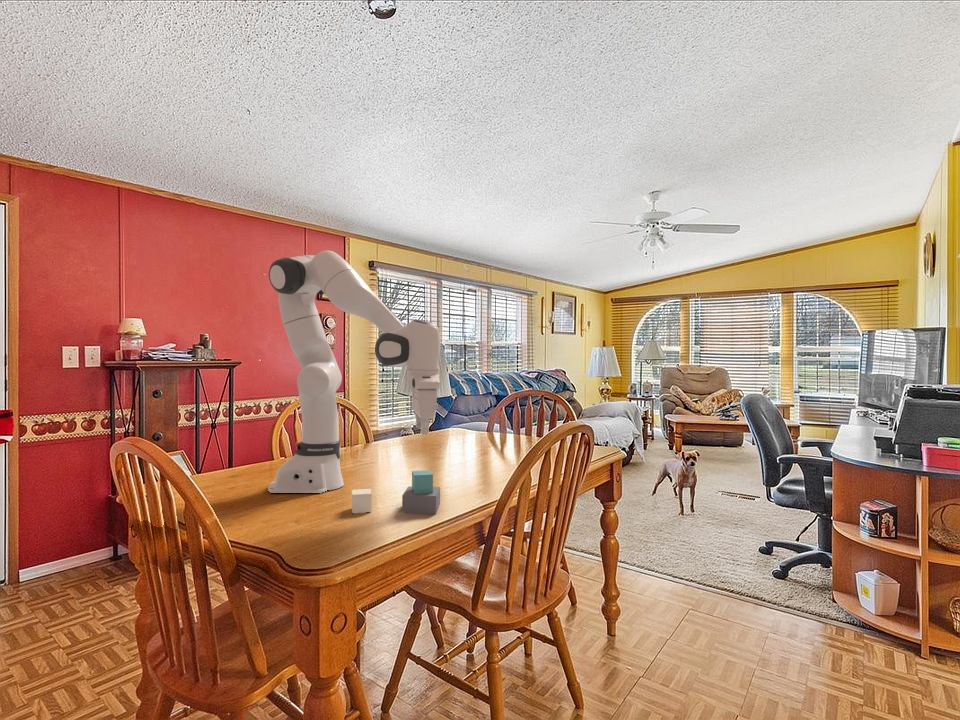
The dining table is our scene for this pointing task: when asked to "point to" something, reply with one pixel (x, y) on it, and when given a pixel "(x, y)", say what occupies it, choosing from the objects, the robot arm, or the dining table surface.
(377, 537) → the dining table surface
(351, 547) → the dining table surface
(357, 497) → the cream cube
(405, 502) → the charcoal base block
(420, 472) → the teal cube
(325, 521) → the dining table surface
